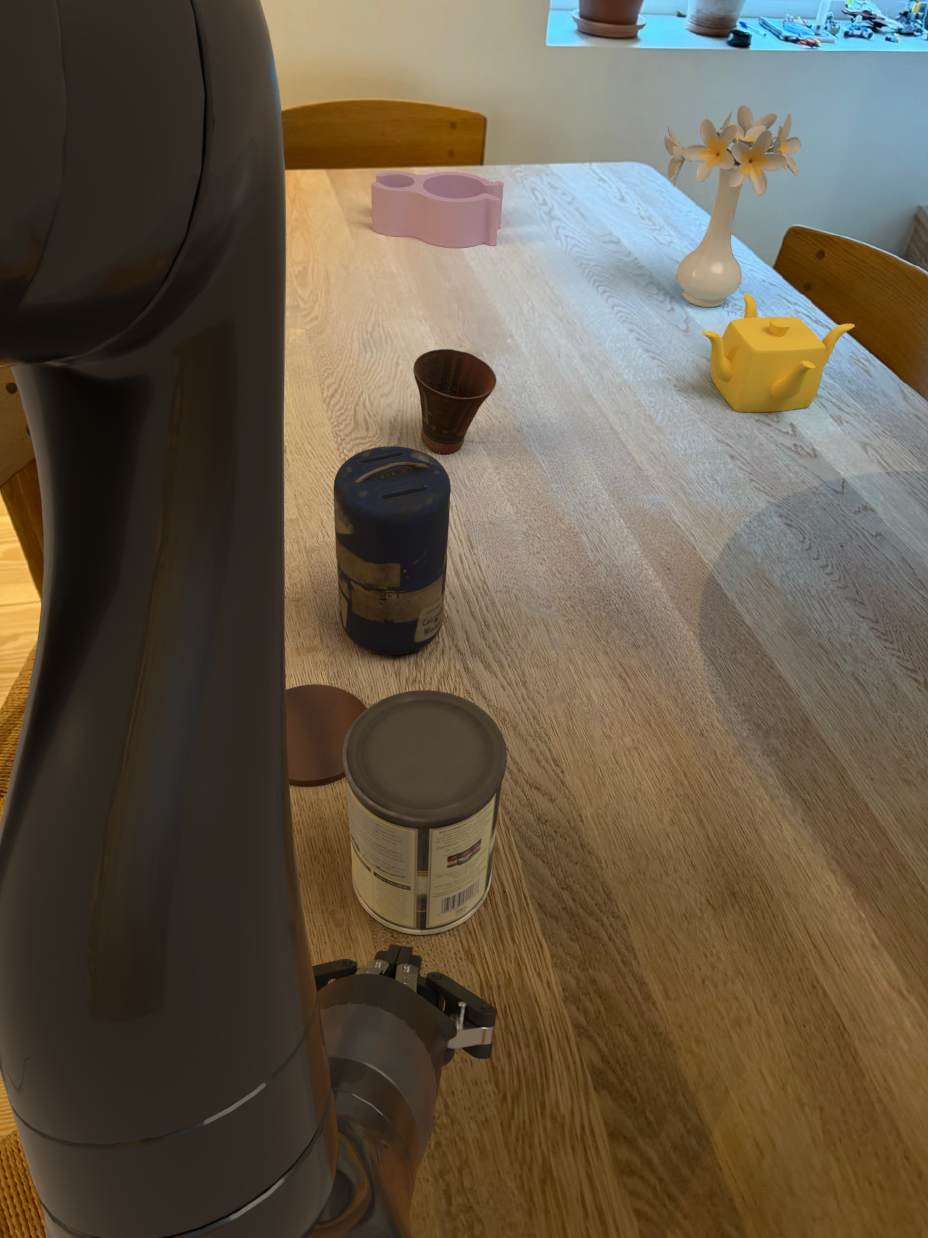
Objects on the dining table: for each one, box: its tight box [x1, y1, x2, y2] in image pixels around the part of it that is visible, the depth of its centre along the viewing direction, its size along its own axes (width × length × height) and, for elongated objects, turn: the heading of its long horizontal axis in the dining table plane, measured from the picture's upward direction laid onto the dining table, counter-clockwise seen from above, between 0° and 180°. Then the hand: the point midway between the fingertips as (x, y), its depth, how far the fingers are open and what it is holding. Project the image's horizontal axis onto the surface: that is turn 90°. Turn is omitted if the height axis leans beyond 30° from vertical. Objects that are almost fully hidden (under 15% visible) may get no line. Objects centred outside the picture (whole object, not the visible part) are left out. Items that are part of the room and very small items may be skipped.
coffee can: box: [342, 689, 508, 936], centre depth 65 cm, size 10×10×14 cm
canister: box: [333, 445, 452, 656], centre depth 81 cm, size 10×10×18 cm
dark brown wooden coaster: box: [286, 683, 368, 787], centre depth 78 cm, size 10×10×1 cm
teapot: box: [700, 293, 856, 413], centre depth 118 cm, size 15×14×10 cm
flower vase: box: [663, 104, 802, 308], centre depth 130 cm, size 13×18×25 cm
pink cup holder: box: [370, 170, 505, 249], centre depth 150 cm, size 20×12×7 cm, turn 83°
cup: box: [412, 348, 497, 455], centre depth 105 cm, size 9×9×10 cm
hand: (399, 961), depth 60 cm, fingers closed
